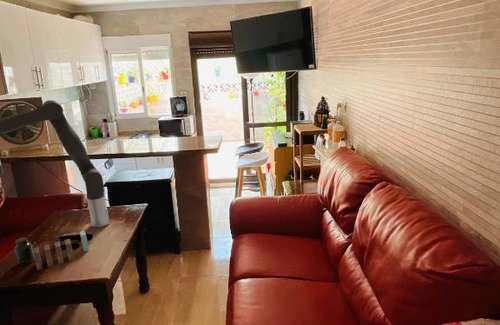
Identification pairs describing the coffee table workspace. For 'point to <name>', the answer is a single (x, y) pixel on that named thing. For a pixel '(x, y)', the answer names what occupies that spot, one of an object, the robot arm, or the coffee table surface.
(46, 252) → the domino
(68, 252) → the domino
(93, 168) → the robot arm
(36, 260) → the domino
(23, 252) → the supplement bottle
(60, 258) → the domino
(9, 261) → the coffee table surface
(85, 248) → the domino
